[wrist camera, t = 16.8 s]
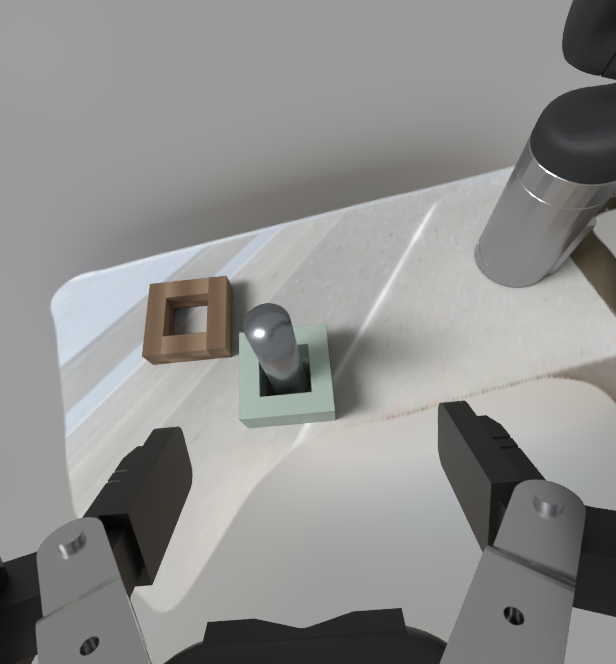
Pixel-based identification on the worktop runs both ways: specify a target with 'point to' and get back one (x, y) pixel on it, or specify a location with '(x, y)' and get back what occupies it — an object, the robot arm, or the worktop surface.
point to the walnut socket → (192, 346)
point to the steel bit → (276, 347)
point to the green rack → (289, 407)
